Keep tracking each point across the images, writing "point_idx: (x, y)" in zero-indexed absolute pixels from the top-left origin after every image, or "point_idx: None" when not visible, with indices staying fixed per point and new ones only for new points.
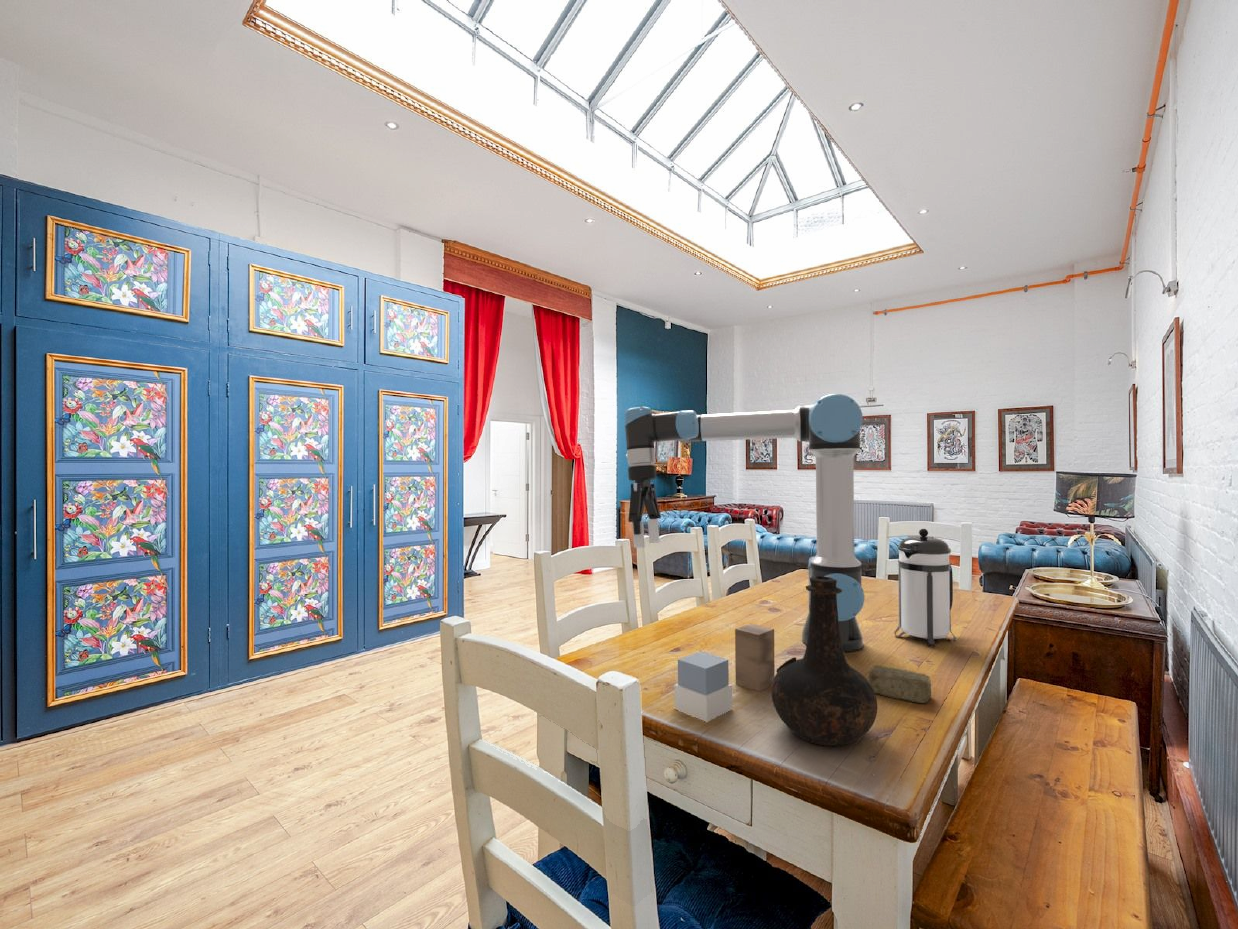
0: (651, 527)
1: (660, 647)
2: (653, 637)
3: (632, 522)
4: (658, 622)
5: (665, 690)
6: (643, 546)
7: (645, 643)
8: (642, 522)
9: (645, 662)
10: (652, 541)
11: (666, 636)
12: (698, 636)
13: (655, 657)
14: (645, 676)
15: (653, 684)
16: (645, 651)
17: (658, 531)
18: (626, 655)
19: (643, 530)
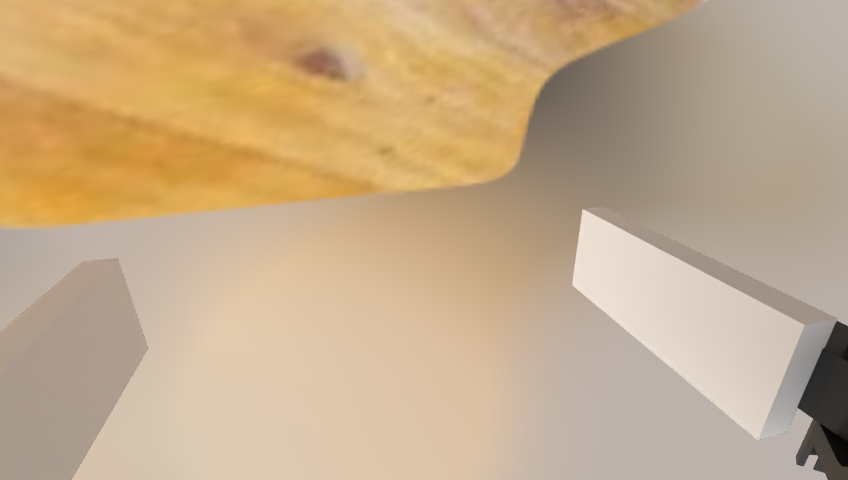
0: (47, 454)
1: (323, 119)
2: (236, 175)
3: (784, 426)
4: (38, 226)
5: (598, 12)
6: (608, 212)
7: (307, 176)
8: (814, 314)
9: (454, 118)
10: (132, 327)
11: (202, 137)
12: (135, 19)
13: (410, 105)
14: (537, 85)
15: (574, 50)
16: (374, 149)
17: (9, 332)
18: (422, 184)
19: (701, 266)
